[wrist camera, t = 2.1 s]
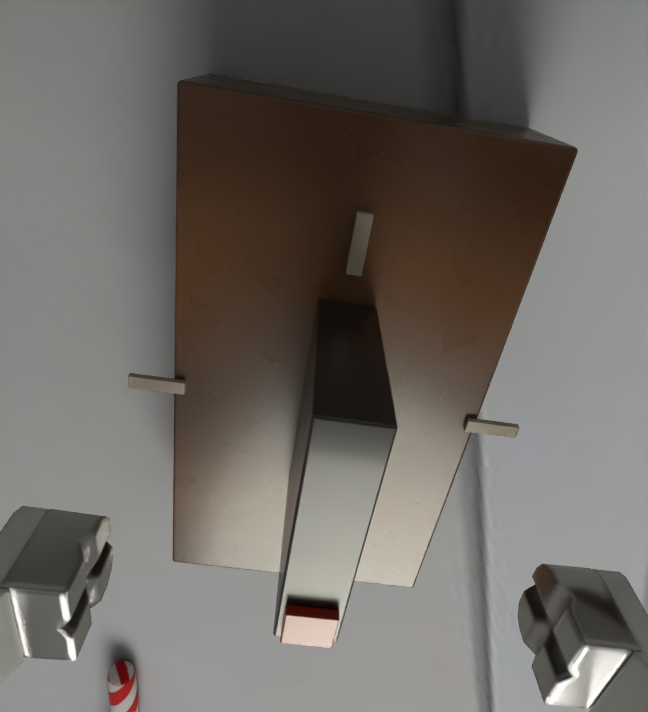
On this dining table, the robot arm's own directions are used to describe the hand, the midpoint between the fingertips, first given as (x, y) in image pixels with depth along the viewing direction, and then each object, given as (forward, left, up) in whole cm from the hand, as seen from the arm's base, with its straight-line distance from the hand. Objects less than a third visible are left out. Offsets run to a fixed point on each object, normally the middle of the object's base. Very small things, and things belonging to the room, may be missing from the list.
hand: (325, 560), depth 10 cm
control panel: (0, 0, -8) cm, 8 cm away
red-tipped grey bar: (0, 0, -5) cm, 4 cm away
